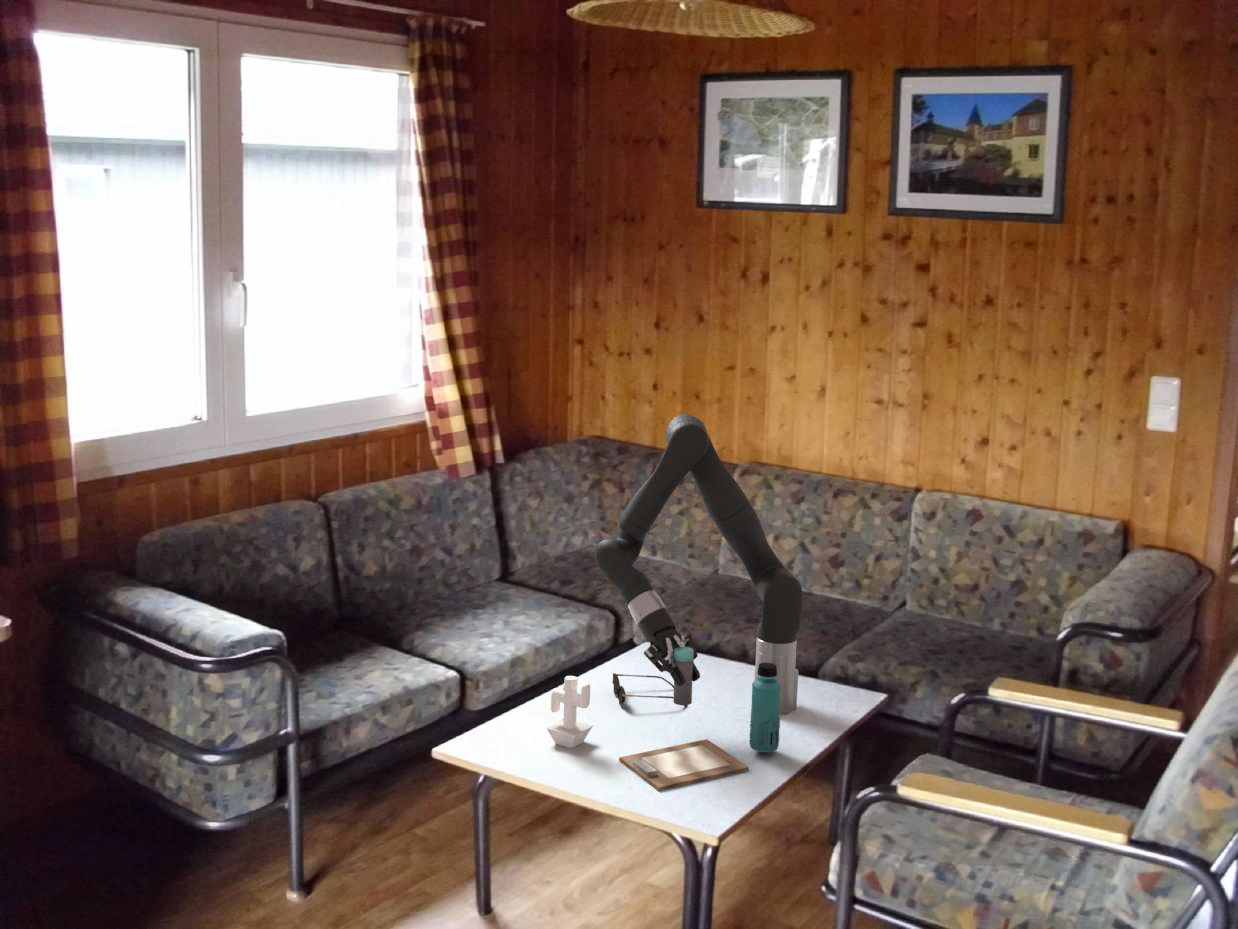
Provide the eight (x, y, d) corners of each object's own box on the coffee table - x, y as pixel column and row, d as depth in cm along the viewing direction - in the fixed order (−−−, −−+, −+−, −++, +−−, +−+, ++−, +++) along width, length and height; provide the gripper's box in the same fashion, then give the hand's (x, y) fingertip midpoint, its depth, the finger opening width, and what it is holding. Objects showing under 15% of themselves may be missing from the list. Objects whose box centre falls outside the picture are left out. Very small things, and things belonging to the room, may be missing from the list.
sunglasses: (611, 691, 323) (612, 671, 322) (675, 692, 326) (677, 672, 325) (621, 713, 310) (623, 692, 309) (688, 713, 313) (690, 693, 312)
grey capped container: (685, 697, 299) (687, 645, 296) (695, 703, 295) (697, 651, 293) (669, 700, 297) (670, 648, 294) (679, 706, 293) (680, 654, 291)
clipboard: (706, 742, 294) (707, 734, 293) (748, 770, 280) (749, 762, 280) (619, 761, 283) (619, 753, 283) (658, 791, 269) (658, 782, 269)
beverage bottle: (770, 761, 285) (775, 672, 281) (742, 754, 288) (747, 665, 284) (784, 751, 290) (788, 663, 286) (756, 744, 294) (760, 657, 290)
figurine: (561, 732, 297) (562, 667, 294) (596, 742, 292) (598, 677, 289) (542, 743, 291) (543, 677, 288) (577, 753, 286) (579, 686, 283)
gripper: (637, 613, 292) (676, 681, 286) (682, 600, 302) (721, 665, 296) (619, 631, 297) (658, 698, 291) (664, 617, 307) (702, 682, 301)
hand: (689, 681), depth 294 cm, fingers closed on grey capped container, 4 cm apart
